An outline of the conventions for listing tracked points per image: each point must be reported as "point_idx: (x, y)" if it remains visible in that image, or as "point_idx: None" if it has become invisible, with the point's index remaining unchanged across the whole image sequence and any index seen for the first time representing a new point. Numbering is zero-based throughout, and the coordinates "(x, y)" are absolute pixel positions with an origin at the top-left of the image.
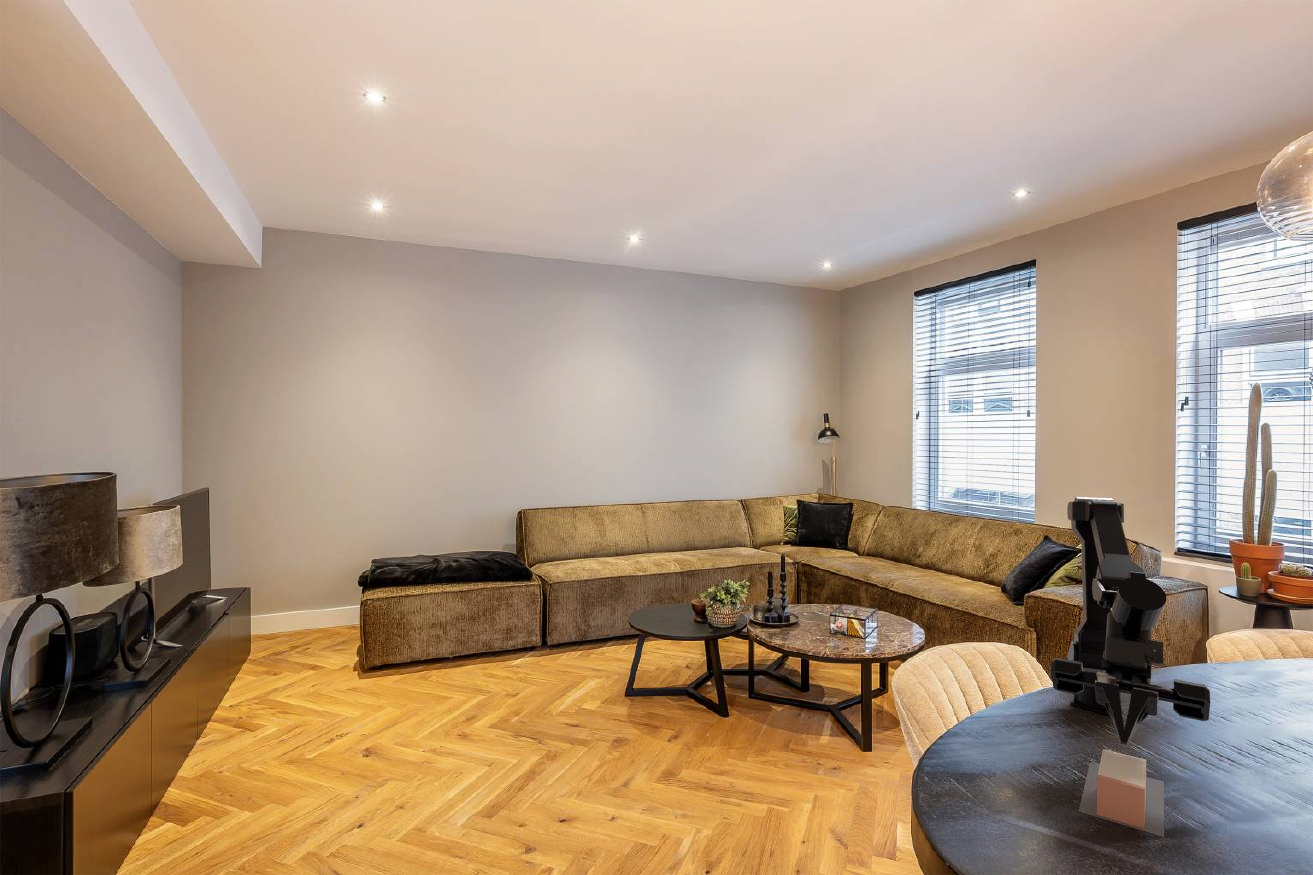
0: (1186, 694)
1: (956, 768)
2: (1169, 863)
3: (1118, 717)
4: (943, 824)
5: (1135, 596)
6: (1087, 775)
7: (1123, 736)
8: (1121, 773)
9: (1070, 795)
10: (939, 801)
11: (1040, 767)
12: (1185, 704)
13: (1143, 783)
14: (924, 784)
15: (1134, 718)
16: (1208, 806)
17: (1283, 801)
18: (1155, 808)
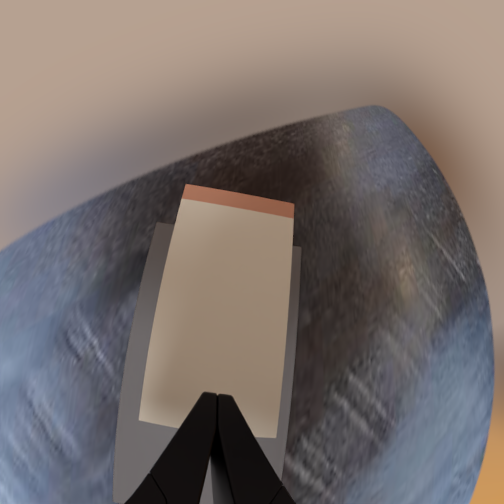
0: None
1: (469, 321)
2: (168, 168)
3: (252, 476)
4: (422, 158)
5: None
6: (284, 447)
7: (219, 403)
8: (231, 256)
9: (315, 339)
10: (447, 205)
11: (371, 440)
12: None
13: (180, 217)
14: (472, 241)
15: (158, 480)
16: (43, 433)
17: None
18: (144, 347)
